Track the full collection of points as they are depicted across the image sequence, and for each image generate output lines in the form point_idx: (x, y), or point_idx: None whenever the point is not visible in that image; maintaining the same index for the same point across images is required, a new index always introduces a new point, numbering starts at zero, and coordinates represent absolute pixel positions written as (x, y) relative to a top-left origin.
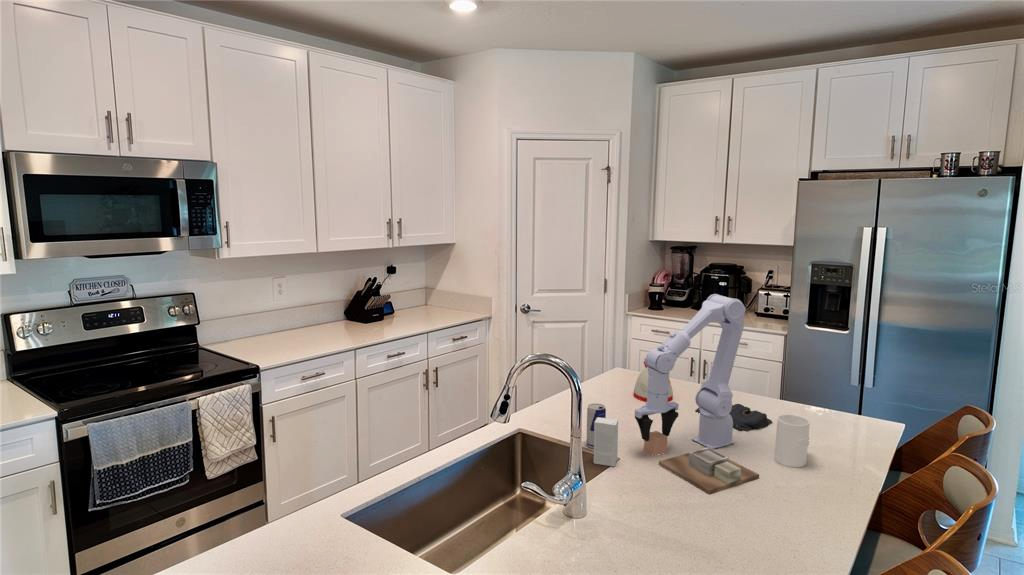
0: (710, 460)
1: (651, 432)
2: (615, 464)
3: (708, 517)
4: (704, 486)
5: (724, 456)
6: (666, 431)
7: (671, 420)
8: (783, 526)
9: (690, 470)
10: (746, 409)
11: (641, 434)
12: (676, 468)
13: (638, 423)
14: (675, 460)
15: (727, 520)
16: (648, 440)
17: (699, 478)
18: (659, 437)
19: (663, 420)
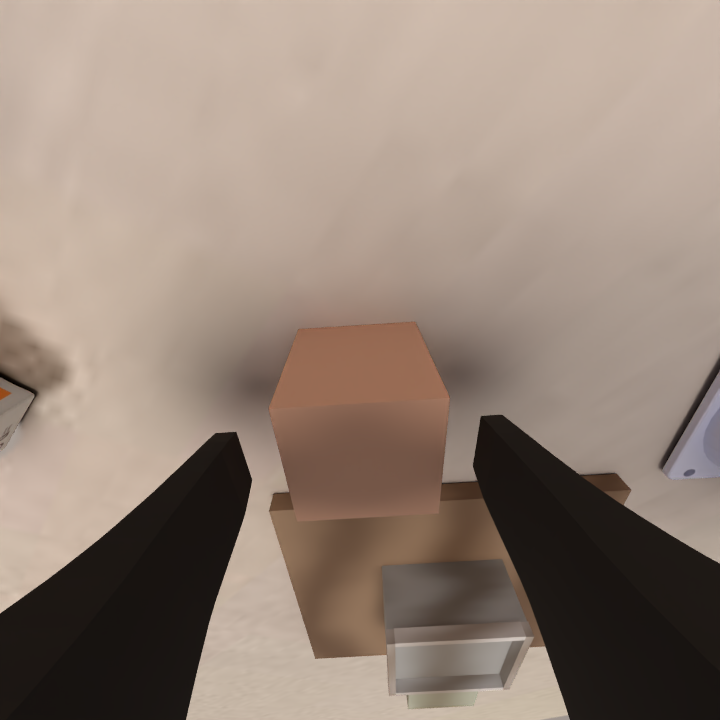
0: (429, 668)
1: (362, 413)
2: (7, 441)
3: (239, 681)
4: (318, 647)
5: (504, 682)
6: (491, 491)
7: (571, 715)
8: (373, 711)
9: (353, 590)
10: None
11: (187, 465)
12: (308, 570)
13: (18, 621)
14: (358, 528)
15: (276, 691)
16: (250, 483)
17: (340, 623)
18: (358, 508)
19: (578, 561)
